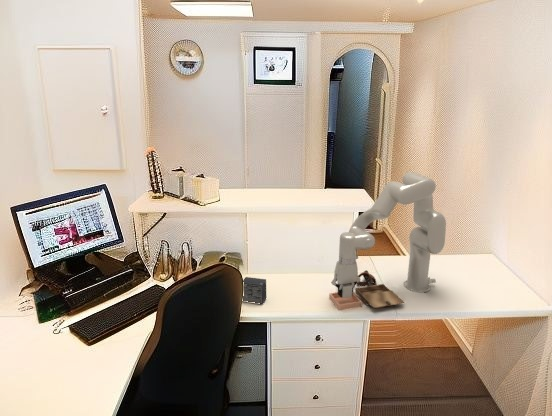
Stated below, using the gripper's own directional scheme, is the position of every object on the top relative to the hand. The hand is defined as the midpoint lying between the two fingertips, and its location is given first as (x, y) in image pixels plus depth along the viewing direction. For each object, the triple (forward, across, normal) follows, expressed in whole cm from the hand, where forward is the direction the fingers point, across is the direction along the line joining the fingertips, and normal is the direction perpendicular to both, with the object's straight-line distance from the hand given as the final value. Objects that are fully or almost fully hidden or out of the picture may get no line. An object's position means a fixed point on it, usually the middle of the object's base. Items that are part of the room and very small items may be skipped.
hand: (345, 294), depth 198 cm
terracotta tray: (+4, 0, 0) cm, 4 cm away
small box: (+5, +40, -15) cm, 43 cm away
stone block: (0, 0, 0) cm, 0 cm away
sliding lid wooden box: (+4, -16, +3) cm, 17 cm away
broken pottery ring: (+5, -18, -13) cm, 23 cm away
